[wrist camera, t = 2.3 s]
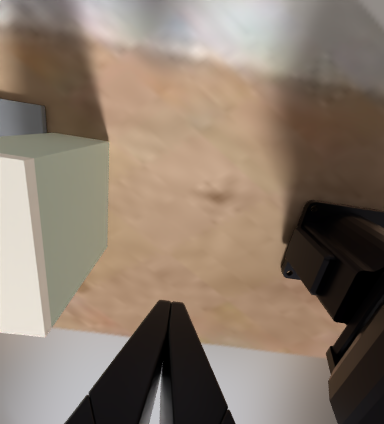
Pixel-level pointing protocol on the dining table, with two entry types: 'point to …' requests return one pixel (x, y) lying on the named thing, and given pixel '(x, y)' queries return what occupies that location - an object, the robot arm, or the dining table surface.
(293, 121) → the dining table surface
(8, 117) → the mat
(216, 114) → the dining table surface
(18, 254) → the slab
